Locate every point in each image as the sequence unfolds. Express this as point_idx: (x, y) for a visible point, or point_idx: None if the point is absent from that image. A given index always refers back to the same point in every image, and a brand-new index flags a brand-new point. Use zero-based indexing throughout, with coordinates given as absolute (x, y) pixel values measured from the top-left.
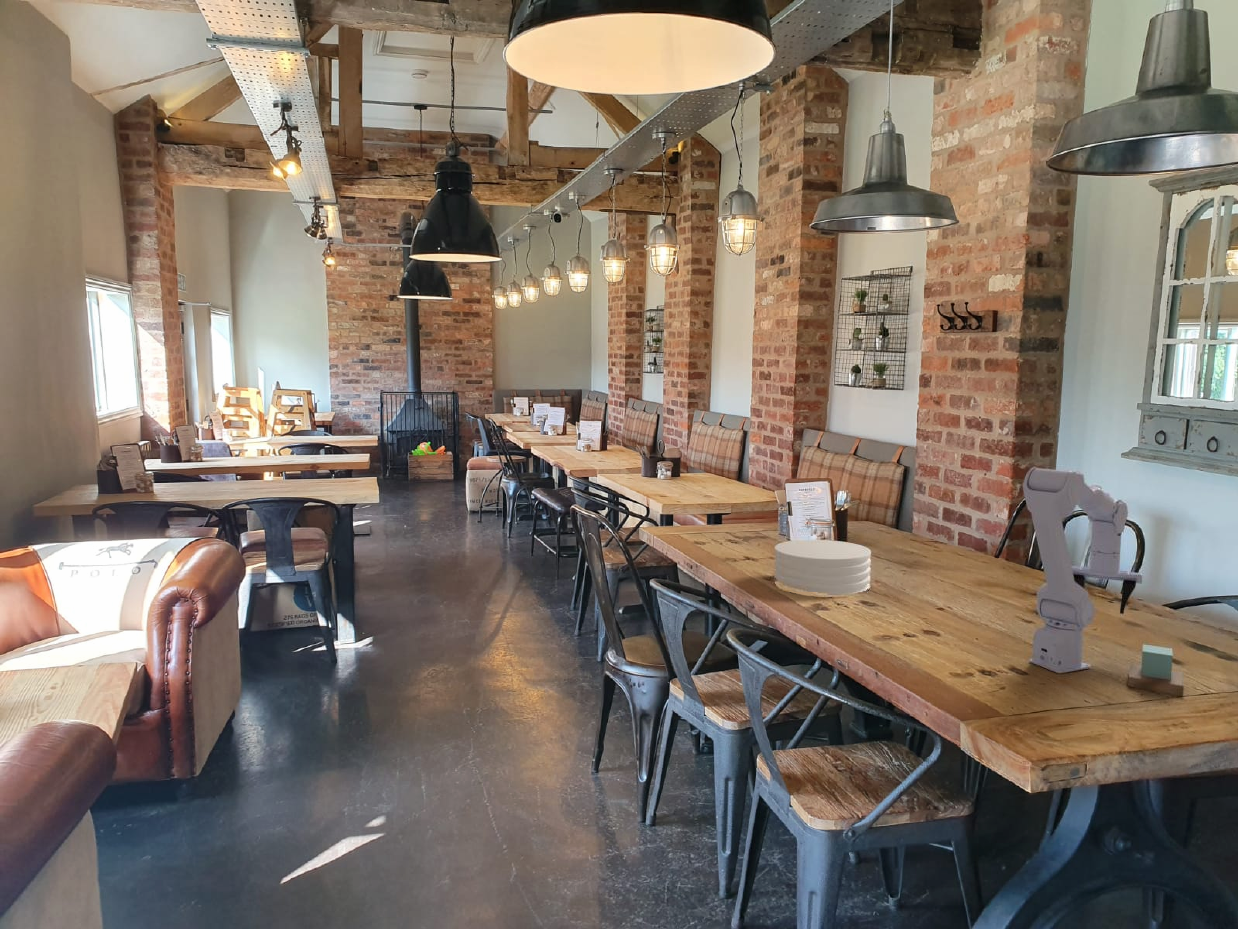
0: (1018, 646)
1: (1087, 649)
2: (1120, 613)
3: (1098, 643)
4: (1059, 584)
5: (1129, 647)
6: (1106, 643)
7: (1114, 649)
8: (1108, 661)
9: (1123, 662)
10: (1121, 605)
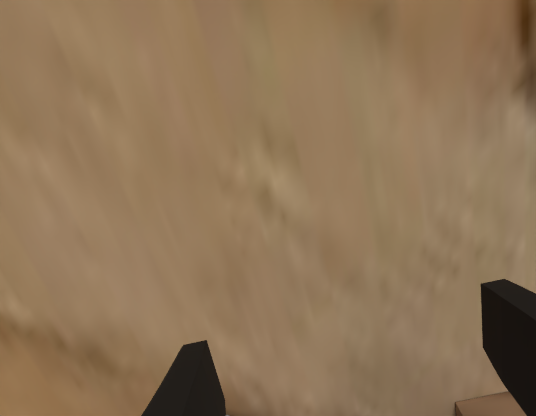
0: (13, 394)
1: (251, 229)
2: (487, 346)
3: (264, 80)
4: None
5: (416, 32)
6: (298, 45)
7: (356, 133)
8: (367, 329)
9: (420, 300)
10: (532, 414)
